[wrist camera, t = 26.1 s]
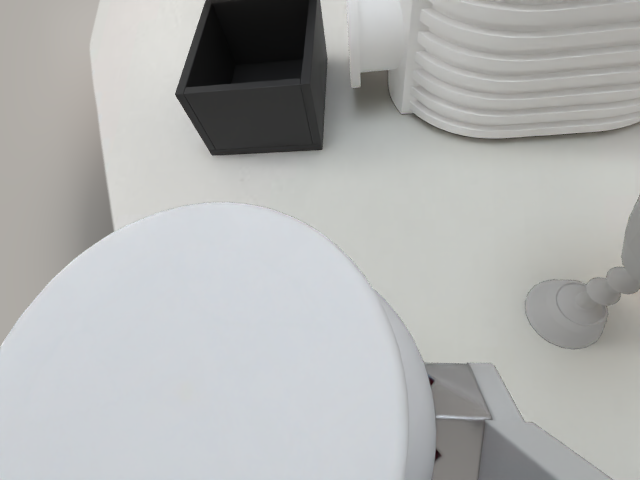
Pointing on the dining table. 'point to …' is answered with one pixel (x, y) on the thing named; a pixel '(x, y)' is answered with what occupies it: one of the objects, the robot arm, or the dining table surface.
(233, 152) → the box
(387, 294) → the dining table surface
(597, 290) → the chalice
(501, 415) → the robot arm
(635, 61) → the housing
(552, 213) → the dining table surface
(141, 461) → the pill bottle
